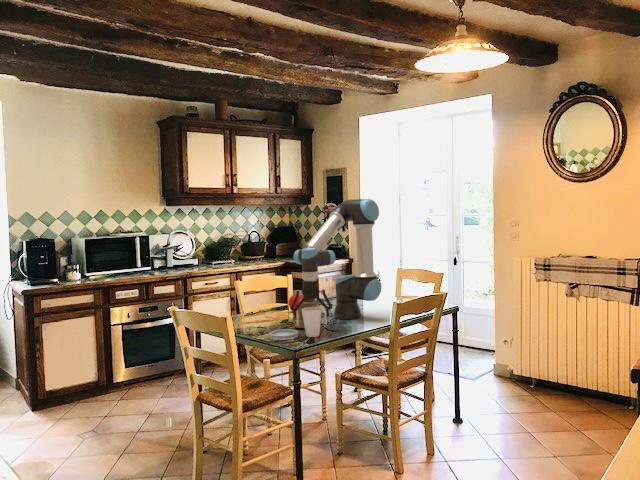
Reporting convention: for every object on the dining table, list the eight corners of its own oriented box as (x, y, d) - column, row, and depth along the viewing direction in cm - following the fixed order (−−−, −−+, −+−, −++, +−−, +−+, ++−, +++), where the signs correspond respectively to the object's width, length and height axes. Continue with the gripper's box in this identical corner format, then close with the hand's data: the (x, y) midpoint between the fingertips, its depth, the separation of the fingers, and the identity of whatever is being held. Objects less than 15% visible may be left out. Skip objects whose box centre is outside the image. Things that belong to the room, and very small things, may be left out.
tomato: (308, 309, 339) (307, 292, 339) (305, 313, 329) (305, 295, 328) (290, 310, 340) (289, 292, 340) (287, 313, 330) (287, 295, 329)
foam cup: (320, 337, 269) (319, 310, 268) (301, 337, 271) (300, 310, 270) (324, 333, 279) (322, 307, 278) (305, 333, 280) (304, 307, 279)
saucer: (298, 332, 282) (298, 328, 282) (297, 339, 268) (297, 335, 268) (270, 333, 282) (270, 329, 282) (268, 340, 268) (267, 336, 268)
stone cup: (314, 330, 286) (312, 300, 285) (291, 329, 289) (290, 300, 288) (322, 323, 300) (320, 295, 299) (300, 323, 304) (299, 295, 303)
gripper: (284, 282, 269) (285, 326, 270) (336, 280, 269) (337, 324, 271) (284, 279, 277) (286, 323, 278) (336, 278, 277) (337, 321, 278)
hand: (311, 323), depth 274 cm, fingers open, 13 cm apart
